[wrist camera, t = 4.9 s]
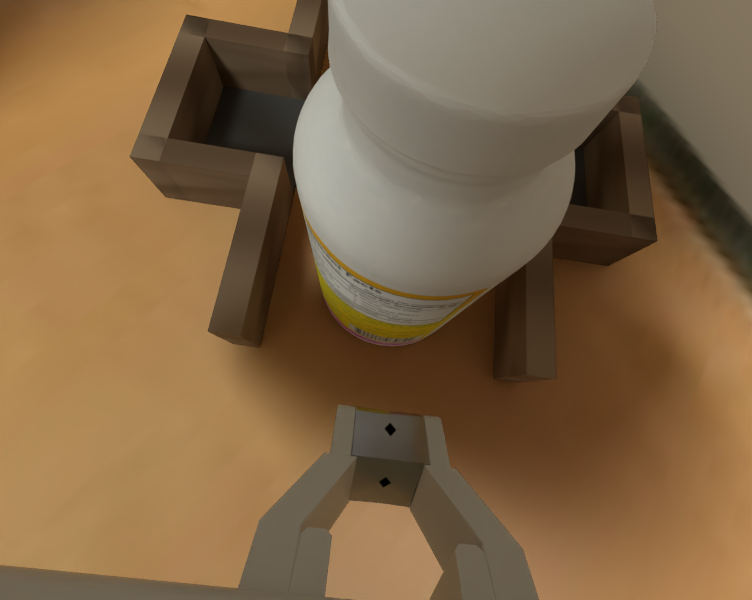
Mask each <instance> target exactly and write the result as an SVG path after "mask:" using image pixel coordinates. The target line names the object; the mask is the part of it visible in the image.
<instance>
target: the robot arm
mask: <svg viewBox="0 0 752 600" xmlns="http://www.w3.org/2000/svg"><path fill="white" fill-rule="evenodd" d="M349 500H351V501H363V502H375V503H384V504H391V505H398V506H405V507H410V510H411V512H412V514H413V516H414V518H415V520H416V522H417V523H418V525H419V527H420V529H421V531H422V533H423V534H424V536H425V538H426V540H427V542H428V544H429V546H430V547H431V549H432V551H433V553H434V555H435V557H436V558H437V560H438V562H439V564H440V566H441V568H442V570H443V571H444V572H443V574H442V576H441V578H440V580H439V582H438V584H437V586H436V588H435V590H434V592H433V594H432V596H431V597H430V600H539V598H538V595H537V592H536V589H535V585H534V582H533V579H532V576H531V573H530V570H529V567H528V563H527V560H526V557H525V554H524V551H523V549H522V547H521V546H520V545H519V544H518V543H517V541H516V540H515V539H514V538H513V537H512V535H511V534H510V533H509V532H508V531H507V529H506V528H505V527H504V526H503V525H502V523H501V522H500V521H499V520H498V518H497V517H496V516H495V515H494V514H493V512H492V511H491V510H490V509H489V508H488V506H487V505H486V504H485V503H484V502H483V500H482V499H481V498H480V497H479V496H478V494H477V493H476V492H475V491H474V490H473V488H472V487H471V486H470V485H469V484H468V482H467V481H466V480H465V479H464V478H463V476H462V475H461V474H460V473H459V471H458V470H457V469H456V468H451V466H450V461H449V456H448V451H447V446H446V440H445V435H444V430H443V425H442V420H441V419H440V417H434V416H426V415H418V414H410V413H401V412H393V411H383V410H376V409H370V408H363V407H357V406H356V408H355V406H348V405H342V404H338V407H337V413H336V419H335V425H334V431H333V437H332V443H331V449H330V453H324V454H323V455H322V456H321V457H320V458H319V459H318V460H317V461H316V462H315V463H314V464H313V465H312V466H311V467H310V468H309V469H308V470H307V471H306V472H305V473H304V474H303V475H302V476H301V477H300V479H299V480H298V481H297V482H296V483H295V484H294V485H293V486H292V487H291V488H290V489H289V490H288V491H287V492H286V493H285V494H284V495H283V496H282V497H281V498H280V499H279V500H278V501H277V502H276V503H275V504H274V505H273V506H272V507H271V508H270V509H269V511H268V512H267V513H266V514H265V515H264V516H263V517H262V518H261V519H260V520H259V523H258V527H257V530H256V533H255V536H254V539H253V542H252V546H251V549H250V552H249V555H248V558H247V561H246V565H245V568H244V571H243V574H242V577H241V580H240V584H239V587H238V588H229V587H219V586H209V585H199V584H189V583H178V582H168V581H158V580H148V579H138V578H128V577H117V576H107V575H97V574H87V573H77V572H66V571H56V570H46V569H36V568H26V567H16V566H5V565H0V600H351V599H341V598H331V597H325V590H326V582H327V573H328V565H329V556H330V548H331V539H332V535H331V534H330V533H329V530H330V529H331V527H332V526H333V524H334V523H335V521H336V520H337V518H338V517H339V516H340V514H341V513H342V511H343V510H344V508H345V507H346V505H347V504H348V502H349Z"/></svg>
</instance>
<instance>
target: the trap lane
mask: <svg viewBox="0 0 752 600" xmlns="http://www.w3.org/2000/svg"><path fill="white" fill-rule="evenodd" d="M328 38H329V17H328V0H297V3H296V7H295V11H294V14H293V18H292V22H291V26H290V29H289V33H284V32H279V31H273V30H268V29H262V28H257V27H251V26H246V25H240V24H235V23H229V22H224V21H218V20H213V19H207V18H202V17H196V16H191V15H186V17H185V19H184V22H183V24H182V27H181V29H180V32H179V34H178V37H177V39H176V42H175V44H174V47H173V49H172V52H171V54H170V57H169V59H168V62H167V64H166V67H165V69H164V72H163V74H162V77H161V79H160V82H159V84H158V87H157V89H156V92H155V94H154V97H153V99H152V102H151V104H150V107H149V109H148V112H147V114H146V117H145V119H144V122H143V124H142V127H141V130H140V132H139V135H138V137H137V140H136V142H135V145H134V147H133V150H132V152H131V155H130V158H131V159H132V160H133V161H134V162H135V163H136V164H137V165H138V167H139V168H140V169H141V170H142V171H143V172H144V173H145V174H146V176H147V177H148V178H149V179H150V180H151V181H152V182H153V183H154V185H155V186H156V187H157V188H158V189H159V190H160V191H161V192H162V194H163V195H164V196H165V197H168V198H174V199H181V200H187V201H193V202H200V203H206V204H213V205H219V206H226V207H232V208H239V209H241V210H240V214H239V218H238V221H237V225H236V229H235V232H234V236H233V240H232V244H231V247H230V251H229V255H228V258H227V262H226V266H225V269H224V273H223V277H222V280H221V284H220V288H219V292H218V295H217V299H216V303H215V306H214V310H213V314H212V317H211V321H210V325H209V329H208V332H210V333H212V334H214V335H216V336H218V337H220V338H222V339H224V340H226V341H228V342H230V343H232V344H238V345H245V346H253V347H260V344H261V339H262V335H263V330H264V326H265V322H266V317H267V313H268V308H269V304H270V299H271V295H272V290H273V286H274V281H275V277H276V272H277V268H278V263H279V259H280V254H281V250H282V245H283V241H284V236H285V232H286V227H287V223H288V218H289V214H290V209H291V205H292V200H293V196H294V191H295V187H296V181H295V176H294V169H293V144H294V135H295V129H296V125H297V121H298V118H299V115H300V112H301V110H302V107H303V105H304V103H305V101H306V99H307V97H308V95H309V93H310V92H311V90H312V89H313V87H314V85H315V84H316V83H317V81H318V80H319V79H320V74H321V70H322V65H323V61H324V56H325V52H326V47H327V43H328ZM574 153H575V179H574V185H573V191H572V195H571V199H570V202H569V205H568V208H567V211H566V213H565V215H564V218H563V220H562V222H561V224H560V225H559V227H558V229H557V230H556V232H555V234H554V235H553V236H552V238H551V239H550V240H549V242H548V243H547V244H546V245H545V247H544V248H543V249H542V250H541V251H540V252H539V253H538V254H537V255H536V256H535V257H534V258H533V259H531V260H530V261H529V262H528V263H526V264H525V265H524V266H522V267H521V268H520V269H518V270H517V271H516V272H514V273H513V274H512V275H510V276H509V277H507V278H506V279H505V280H503V281H502V282H500V283H499V284H498V285H496V307H495V352H494V379H498V380H505V381H513V382H527V381H538V380H549V379H556V352H555V319H554V285H553V257H555V258H561V259H568V260H574V261H581V262H587V263H594V264H600V265H607V266H609V265H611V264H613V263H615V262H617V261H619V260H621V259H623V258H625V257H627V256H629V255H631V254H633V253H635V252H637V251H639V250H641V249H643V248H645V247H647V246H649V245H651V244H653V243H655V242H657V234H656V226H655V218H654V211H653V203H652V195H651V187H650V180H649V172H648V164H647V156H646V148H645V141H644V133H643V125H642V117H641V110H640V102H639V97H635V96H629V95H624V96H623V97H622V98H621V99H620V100H619V101H618V102H617V104H616V105H615V106H614V107H613V108H612V109H611V111H610V112H609V113H608V114H607V115H606V116H605V118H604V119H603V120H602V121H601V122H600V123H599V124H598V126H597V127H596V128H595V129H594V130H593V131H592V133H591V134H590V135H589V136H588V137H587V138H586V139H585V141H584V142H583V143H582V144H581V145H580V146H578V147H577V148H576V149H575V150H574Z"/></svg>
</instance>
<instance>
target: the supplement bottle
mask: <svg viewBox="0 0 752 600" xmlns="http://www.w3.org/2000/svg"><path fill="white" fill-rule="evenodd" d="M328 17H329V39H328V57H329V64H330V67H329V69H328V70H327V71H326V72H325V73H324V74H323V75H322V76H321V77H320V79H319V80H318V81H317V83H316V84H315V85H314V87H313V89H312V90H311V92H310V93H309V95H308V97H307V99H306V101H305V103H304V105H303V107H302V110H301V112H300V115H299V118H298V121H297V125H296V129H295V135H294V144H293V169H294V176H295V181H296V185H297V190H298V195H299V199H300V203H301V207H302V211H303V215H304V219H305V223H306V227H307V231H308V235H309V239H310V243H311V248H312V252H313V256H314V261H315V265H316V269H317V273H318V277H319V282H320V286H321V290H322V294H323V297H324V299H325V302H326V304H327V306H328V308H329V310H330V312H331V314H332V315H333V316H334V318H335V319H336V320H337V321H338V322H339V324H340V325H341V326H342V327H343V328H345V329H346V330H347V331H348V332H350V333H351V334H352V335H354V336H356V337H357V338H359V339H362V340H364V341H366V342H369V343H372V344H377V345H382V346H402V345H407V344H411V343H414V342H417V341H420V340H422V339H424V338H426V337H427V336H429V335H431V334H432V333H434V332H435V331H436V330H438V329H439V328H441V327H442V326H443V325H445V324H446V323H447V322H449V321H450V320H451V319H452V318H454V317H455V316H456V315H458V314H459V313H460V312H462V311H463V310H464V309H466V308H467V307H468V306H470V305H471V304H472V303H473V302H475V301H476V300H477V299H479V298H480V297H481V296H483V295H484V294H485V293H487V292H488V291H489V290H491V289H492V288H494V287H495V286H496V285H498V284H499V283H500V282H502V281H503V280H505V279H506V278H507V277H509V276H510V275H512V274H513V273H514V272H516V271H517V270H518V269H520V268H521V267H522V266H524V265H525V264H526V263H528V262H529V261H530V260H531V259H533V258H534V257H535V256H536V255H537V254H538V253H539V252H540V251H541V250H542V249H543V248H544V247H545V245H546V244H547V243H548V242H549V240H550V239H551V238H552V236H553V235H554V234H555V232H556V230H557V229H558V227H559V225H560V224H561V222H562V220H563V218H564V215H565V213H566V211H567V208H568V205H569V202H570V199H571V195H572V191H573V185H574V179H575V153H574V150H575V149H576V148H577V147H578V146H580V145H581V144H582V143H583V142H584V141H585V139H586V138H587V137H588V136H589V135H590V134H591V133H592V131H593V130H594V129H595V128H596V127H597V126H598V124H599V123H600V122H601V121H602V120H603V119H604V118H605V116H606V115H607V114H608V113H609V112H610V111H611V109H612V108H613V107H614V106H615V105H616V104H617V102H618V101H619V100H620V99H621V98H622V97H623V96H624V94H625V93H626V92H627V91H628V90H629V89H630V87H631V86H632V85H633V84H634V83H635V82H636V80H637V79H638V77H639V76H640V74H641V72H642V70H643V69H644V68H645V66H646V64H647V62H648V60H649V58H650V55H651V52H652V50H653V47H654V42H655V37H656V29H657V21H656V11H655V7H654V2H653V0H328Z"/></svg>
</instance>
